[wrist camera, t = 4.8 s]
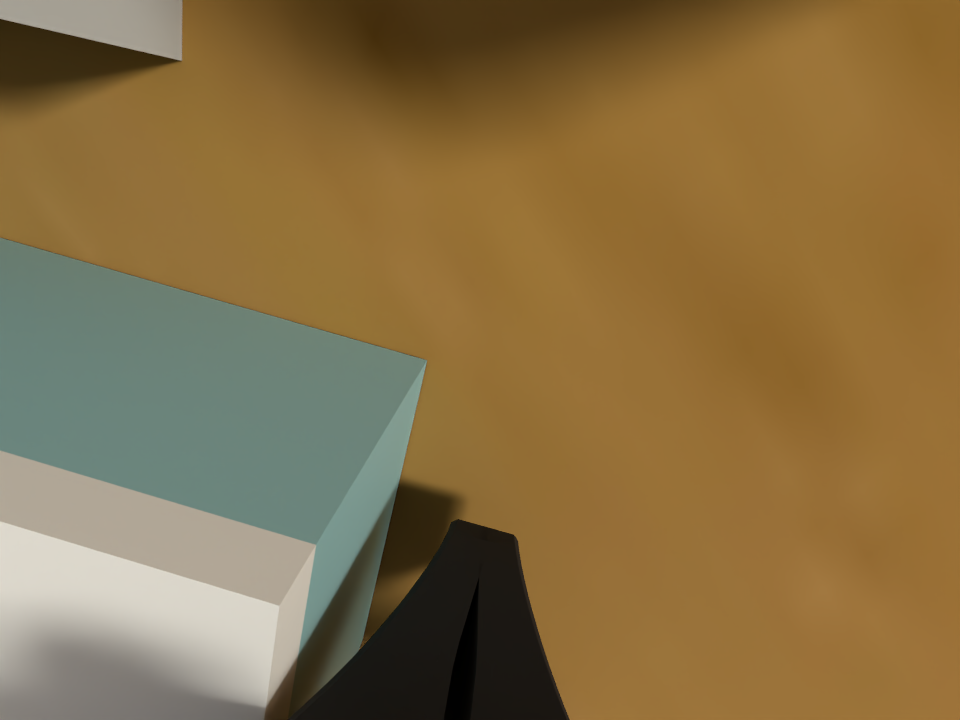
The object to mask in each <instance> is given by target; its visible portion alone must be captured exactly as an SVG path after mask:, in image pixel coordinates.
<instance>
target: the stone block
mask: <svg viewBox="0 0 960 720" xmlns="http://www.w3.org/2000/svg"><path fill="white" fill-rule="evenodd" d="M0 19H3V20H7V21H12V22H16V23H20V24H25V25H29V26H33V27H38V28H42V29H46V30H51V31H55V32H59V33H64V34H68V35H72V36H77V37H81V38H85V39H90V40H94V41H98V42H103V43H107V44H111V45H116V46H120V47H124V48H129V49H133V50H137V51H142V52H146V53H150V54H155V55H159V56H163V57H168V58H172V59H176V60H181V61H182V0H0Z"/></svg>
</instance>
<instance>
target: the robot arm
mask: <svg viewBox="0 0 960 720" xmlns="http://www.w3.org/2000/svg"><path fill="white" fill-rule="evenodd" d="M288 720H569V717H568V715H567V712H566V710H565V707H564V705H563V702H562V699H561V697H560V694H559V692H558V689H557V686H556V683H555V681H554V678H553V675H552V672H551V669H550V667H549V664H548V661H547V658H546V655H545V652H544V649H543V646H542V642H541V639H540V636H539V632H538V629H537V626H536V622H535V619H534V615H533V612H532V608H531V605H530V601H529V597H528V593H527V588H526V584H525V580H524V575H523V571H522V566H521V560H520V554H519V547H518V541H517V539H516V537H515V536H514V535H513V534H509V533H506V532H502V531H498V530H495V529H491V528H488V527H484V526H481V525H477V524H473V523H470V522H466V521H463V520H459V519H458V520H456V521H453V522H451V525H450V527H449V530H448V532H447V534H446V536H445V538H444V540H443V542H442V544H441V546H440V547H439V549H438V551H437V553H436V554H435V556H434V557H433V559H432V560H431V562H430V563H429V565H428V566H427V568H426V569H425V571H424V572H423V573H422V575H421V576H420V578H419V579H418V580H417V582H416V583H415V584H414V586H413V587H412V589H411V590H410V591H409V593H408V594H407V595H406V597H405V598H404V599H403V600H402V602H401V603H400V604H399V605H398V606H397V608H396V609H395V610H394V611H393V612H392V614H391V615H390V616H389V617H388V618H387V620H386V621H385V622H384V623H383V624H382V625H381V627H380V628H379V629H378V630H377V631H376V633H375V634H374V635H373V636H372V637H371V638H370V639H369V640H368V641H367V643H366V644H365V645H364V646H363V647H362V648H361V649H360V650H359V651H358V652H357V653H356V654H355V655H354V656H353V658H352V659H351V660H350V661H349V662H348V663H347V664H346V665H345V666H344V667H343V668H342V669H341V670H340V671H339V672H338V673H337V674H336V675H335V676H334V677H333V678H332V679H331V680H330V681H329V682H328V683H326V684H325V685H324V686H323V687H322V688H321V689H320V690H319V691H318V692H317V693H316V694H315V695H314V696H313V697H312V698H310V699H309V700H308V701H307V702H306V703H305V704H304V705H303V706H302V707H301V708H300V709H299V710H298V711H297V712H295V713H294V714H293V715H292V716H291V717H290V718H289V719H288Z"/></svg>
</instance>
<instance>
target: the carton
mask: <svg viewBox="0 0 960 720" xmlns="http://www.w3.org/2000/svg"><path fill="white" fill-rule="evenodd" d="M426 363H427V360H424V359H420V358H417V357H413V356H410V355H406V354H403V353H400V352H396V351H393V350H389V349H386V348H382V347H379V346H375V345H372V344H368V343H365V342H361V341H358V340H354V339H351V338H347V337H344V336H340V335H337V334H333V333H330V332H327V331H323V330H320V329H316V328H313V327H309V326H306V325H302V324H299V323H295V322H292V321H288V320H285V319H281V318H278V317H274V316H271V315H267V314H264V313H260V312H257V311H253V310H250V309H247V308H243V307H240V306H236V305H233V304H229V303H226V302H222V301H219V300H215V299H212V298H208V297H205V296H201V295H198V294H194V293H191V292H187V291H184V290H180V289H177V288H173V287H170V286H167V285H163V284H160V283H156V282H153V281H149V280H146V279H142V278H139V277H135V276H132V275H128V274H125V273H121V272H118V271H114V270H111V269H107V268H104V267H100V266H97V265H93V264H90V263H87V262H83V261H80V260H76V259H73V258H69V257H66V256H62V255H59V254H55V253H52V252H48V251H45V250H41V249H38V248H34V247H31V246H27V245H24V244H20V243H17V242H14V241H10V240H7V239H3V238H0V720H288V719H289V718H290V717H291V716H292V715H293V714H294V713H295V712H297V711H298V710H299V709H300V708H301V707H302V706H303V705H304V704H305V703H306V702H307V701H308V700H309V699H310V698H312V697H313V696H314V695H315V694H316V693H317V692H318V691H319V690H320V689H321V688H322V687H323V686H324V685H325V684H326V683H328V682H329V681H330V680H331V679H332V678H333V677H334V676H335V675H336V674H337V673H338V672H339V671H340V670H341V669H342V668H343V667H344V666H345V665H346V664H347V663H348V662H349V661H350V660H351V659H352V658H353V656H354V655H355V654H356V653H357V652H358V650H359V648H360V645H361V643H362V640H363V636H364V632H365V627H366V623H367V619H368V614H369V610H370V606H371V601H372V597H373V593H374V588H375V584H376V580H377V575H378V571H379V567H380V562H381V558H382V554H383V549H384V545H385V541H386V536H387V532H388V528H389V523H390V519H391V515H392V510H393V506H394V502H395V497H396V493H397V489H398V484H399V480H400V476H401V471H402V467H403V463H404V458H405V454H406V450H407V445H408V441H409V437H410V432H411V428H412V424H413V419H414V415H415V411H416V406H417V402H418V398H419V393H420V389H421V385H422V380H423V376H424V372H425V367H426Z"/></svg>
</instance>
